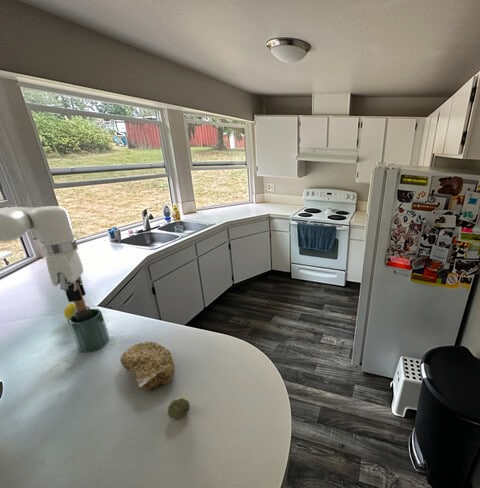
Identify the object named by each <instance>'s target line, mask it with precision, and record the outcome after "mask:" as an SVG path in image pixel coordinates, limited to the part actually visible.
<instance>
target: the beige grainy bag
mask: <svg viewBox="0 0 480 488" xmlns="http://www.w3.org/2000/svg"><path fill="white" fill-rule="evenodd" d="M120 363H121V366H122V367H123V368H124V369H125V370H126V371H127V372H129V373H130V374H131V375H133V377H135V382H136V386H137V388H139V390H140V391H146V392H147V391H150V390H151V389H155V388H157V387H160V385H165V384H170V383H171V381H172V380H173V377H174V375H175V373H176V368H175V367H176V365H175V363H174V359H173V356H172V353H171V350H169V349H167V348H165V346H163V345H161V344H160V343H158V342H154V341H144V342H138V343H135V344H134V345H131V346H130V347H129V348H128V349H126V350H125V351H124V352H123V353H122V355H120Z"/></svg>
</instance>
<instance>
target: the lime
mask: <svg viewBox="0 0 480 488" xmlns="http://www.w3.org/2000/svg"><path fill="white" fill-rule="evenodd" d="M190 407H191V405H190V401H189V400H188V399H187V398H186V397H184V396H180V397H175V398H174V399H173V400H172V401H171V402H170V403H169V405H168V408H167V415H168V417H169V418H170V419H172V420H175V421H176V420H179V419H182V418H183V417H185V416H186V415H187V413H189V412H190Z"/></svg>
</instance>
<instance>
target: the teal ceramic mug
mask: <svg viewBox="0 0 480 488" xmlns="http://www.w3.org/2000/svg"><path fill="white" fill-rule="evenodd" d="M90 310H91V313H92V316H93V318H92V319H90V320H87V321H84V322H79V323H77V320H76V317H75V315H73V316H71V317H70V318H69V319H67V324H68V326H69V329H70V330H71V333H72V336H73V339H74V342H75V344H76V346H77V349H78V351H79V353H91V352H95V351H98V350H99V349H101V348H103V347H105V346H106V345H107V344H108V343H109V342H110V339H111V337H110V335H109V332H108V328H107V325H106V322H105V319H104V316H103V313H102V310H101V309H99V308H90Z"/></svg>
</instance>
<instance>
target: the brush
mask: <svg viewBox="0 0 480 488" xmlns="http://www.w3.org/2000/svg"><path fill="white" fill-rule="evenodd" d="M68 285H72V284H68ZM76 286H77V289H79V290H80V287H79V284H78V282H76ZM80 293H81V290H80ZM81 296H82V293H81ZM73 304H75V307H76V310H74V315H75V317H76V320H77V323H79V322H84V321H87V320H90V319H92V318H93V316H92V313H91V310H90V309H91V307H90V306H88V305H86V303H85V299H84V296H82V300H80V301H74V302H73Z"/></svg>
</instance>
